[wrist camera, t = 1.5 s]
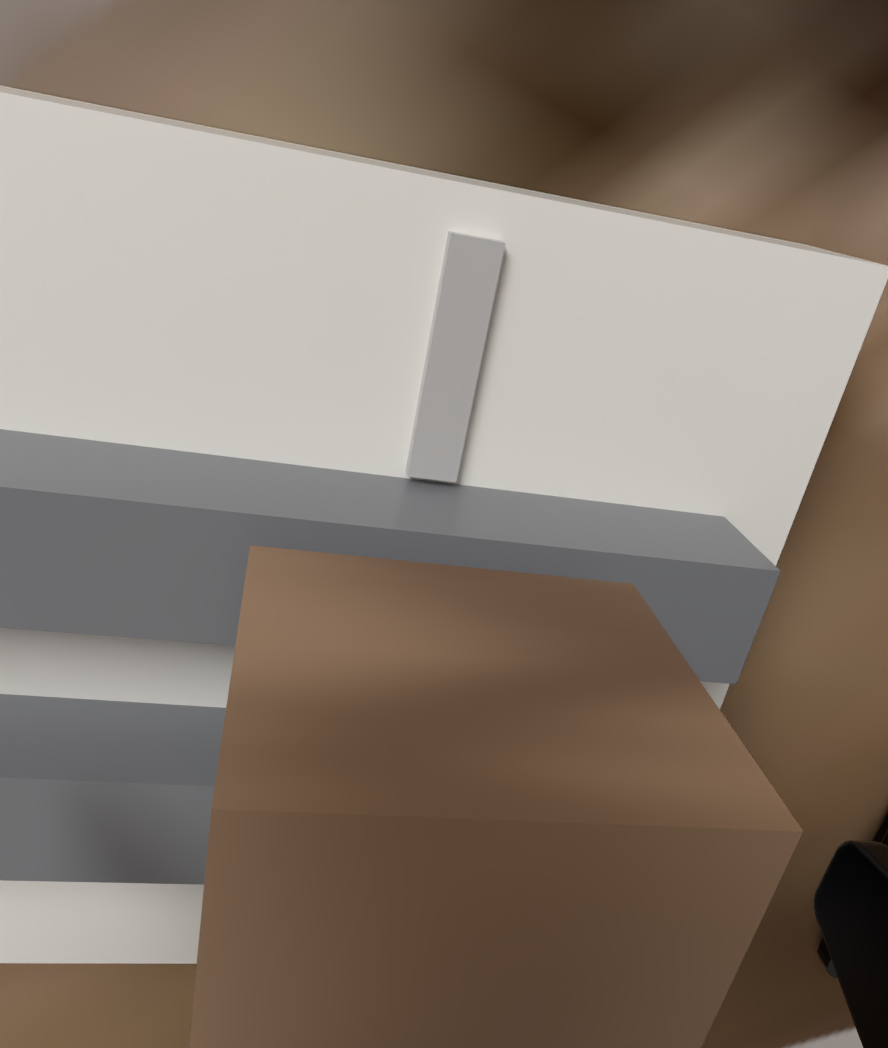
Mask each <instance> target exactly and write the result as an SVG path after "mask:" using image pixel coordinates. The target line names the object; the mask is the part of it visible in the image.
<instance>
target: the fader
mask: <svg viewBox="0 0 888 1048" xmlns="http://www.w3.org/2000/svg"><path fill="white" fill-rule="evenodd" d="M802 834H803V830H802V829H801V827H800V826H799V824H798V823H797V821H796V820H795V819H794V817H793V816H792V814H791V813H790V811H789V810H788V808H787V807H786V805H785V804H784V803H783V801H782V800H781V798H780V797H779V795H778V794H777V792H776V791H775V789H774V788H773V787H772V785H771V784H770V782H769V781H768V779H767V778H766V776H765V775H764V773H763V772H762V771H761V769H760V768H759V766H758V765H757V763H756V762H755V760H754V759H753V757H752V756H751V755H750V753H749V752H748V750H747V749H746V747H745V746H744V744H743V743H742V741H741V740H740V739H739V737H738V736H737V734H736V733H735V731H734V730H733V728H732V727H731V725H730V724H729V723H728V721H727V720H726V718H725V717H724V715H723V714H722V712H721V711H720V709H719V708H718V707H717V705H716V704H715V702H714V701H713V699H712V698H711V696H710V695H709V693H708V692H707V691H706V689H705V688H704V686H703V685H702V683H701V682H700V680H699V679H698V677H697V676H696V675H695V673H694V672H693V670H692V669H691V667H690V666H689V664H688V663H687V661H686V660H685V659H684V657H683V656H682V654H681V653H680V651H679V650H678V648H677V647H676V645H675V644H674V643H673V641H672V640H671V638H670V637H669V635H668V634H667V632H666V631H665V629H664V628H663V627H662V625H661V624H660V622H659V621H658V619H657V618H656V616H655V615H654V613H653V612H652V611H651V609H650V608H649V606H648V605H647V603H646V602H645V600H644V599H643V597H642V596H641V595H640V593H639V592H638V590H637V589H636V587H635V586H634V584H631V583H621V582H611V581H601V580H591V579H581V578H571V577H561V576H552V575H542V574H532V573H522V572H512V571H502V570H492V569H482V568H472V567H462V566H452V565H442V564H432V563H422V562H413V561H403V560H393V559H383V558H373V557H363V556H353V555H343V554H333V553H323V552H313V551H303V550H293V549H283V548H274V547H264V546H254V545H250V548H249V555H248V562H247V569H246V576H245V583H244V589H243V596H242V603H241V610H240V617H239V624H238V630H237V637H236V644H235V651H234V658H233V665H232V671H231V678H230V685H229V692H228V699H227V706H226V712H225V719H224V726H223V733H222V740H221V746H220V753H219V760H218V767H217V774H216V781H215V787H214V794H213V801H212V808H211V818H210V828H209V839H208V849H207V860H206V870H205V881H204V891H203V902H202V912H201V923H200V933H199V944H198V954H197V965H196V975H195V986H194V996H193V1007H192V1017H191V1028H190V1038H189V1048H701V1047H702V1045H703V1043H704V1041H705V1039H706V1037H707V1034H708V1032H709V1030H710V1028H711V1026H712V1024H713V1022H714V1020H715V1018H716V1015H717V1013H718V1011H719V1009H720V1007H721V1005H722V1003H723V1001H724V999H725V996H726V994H727V992H728V990H729V988H730V986H731V984H732V982H733V980H734V977H735V975H736V973H737V971H738V969H739V967H740V965H741V963H742V960H743V958H744V956H745V954H746V952H747V950H748V948H749V946H750V944H751V941H752V939H753V937H754V935H755V933H756V931H757V929H758V927H759V925H760V922H761V920H762V918H763V916H764V914H765V912H766V910H767V908H768V906H769V903H770V901H771V899H772V897H773V895H774V893H775V891H776V889H777V886H778V884H779V882H780V880H781V878H782V876H783V874H784V872H785V870H786V867H787V865H788V863H789V861H790V859H791V857H792V855H793V853H794V851H795V848H796V846H797V844H798V842H799V840H800V838H801V836H802Z"/></svg>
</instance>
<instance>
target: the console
mask: <svg viewBox="0 0 888 1048" xmlns="http://www.w3.org/2000/svg"><path fill="white" fill-rule="evenodd" d="M887 279H888V266H887V265H883V264H879V263H875V262H871V261H867V260H864V259H860V258H856V257H852V256H848V255H844V254H840V253H836V252H832V251H829V250H825V249H821V248H817V247H813V246H809V245H805V244H800V243H795V242H790V241H785V240H780V239H775V238H770V237H765V236H760V235H755V234H750V233H745V232H740V231H735V230H730V229H725V228H719V227H714V226H709V225H704V224H699V223H694V222H689V221H684V220H679V219H674V218H669V217H664V216H659V215H654V214H649V213H644V212H638V211H633V210H628V209H623V208H618V207H613V206H608V205H603V204H598V203H593V202H588V201H583V200H578V199H573V198H568V197H563V196H557V195H552V194H547V193H542V192H537V191H532V190H527V189H522V188H517V187H512V186H507V185H502V184H497V183H492V182H487V181H482V180H476V179H471V178H466V177H461V176H456V175H451V174H446V173H441V172H436V171H431V170H426V169H421V168H416V167H411V166H406V165H401V164H395V163H390V162H385V161H380V160H375V159H370V158H365V157H360V156H355V155H350V154H345V153H340V152H335V151H330V150H325V149H320V148H314V147H309V146H304V145H299V144H294V143H289V142H284V141H279V140H274V139H269V138H264V137H259V136H254V135H249V134H244V133H239V132H233V131H228V130H223V129H218V128H213V127H208V126H203V125H198V124H193V123H188V122H183V121H178V120H173V119H168V118H163V117H158V116H152V115H147V114H142V113H137V112H132V111H127V110H122V109H117V108H112V107H107V106H102V105H97V104H92V103H87V102H82V101H77V100H71V99H66V98H61V97H56V96H51V95H46V94H41V93H36V92H31V91H26V90H21V89H16V88H11V87H6V86H1V85H0V963H168V964H197V954H198V944H199V933H200V923H201V912H202V902H203V891H204V881H205V870H206V860H207V849H208V839H209V828H210V818H211V808H212V801H213V794H214V787H215V781H216V774H217V767H218V760H219V753H220V746H221V740H222V733H223V726H224V719H225V712H226V706H227V699H228V692H229V685H230V678H231V671H232V665H233V658H234V651H235V644H236V637H237V630H238V624H239V617H240V610H241V603H242V596H243V589H244V583H245V576H246V569H247V562H248V555H249V548H250V545H254V546H264V547H274V548H283V549H293V550H303V551H313V552H323V553H333V554H343V555H353V556H363V557H373V558H383V559H393V560H403V561H413V562H422V563H432V564H442V565H452V566H462V567H472V568H482V569H492V570H502V571H512V572H522V573H532V574H542V575H552V576H561V577H571V578H581V579H591V580H601V581H611V582H621V583H631V584H634V586H635V587H636V589H637V590H638V592H639V593H640V595H641V596H642V597H643V599H644V600H645V602H646V603H647V605H648V606H649V608H650V609H651V611H652V612H653V613H654V615H655V616H656V618H657V619H658V621H659V622H660V624H661V625H662V627H663V628H664V629H665V631H666V632H667V634H668V635H669V637H670V638H671V640H672V641H673V643H674V644H675V645H676V647H677V648H678V650H679V651H680V653H681V654H682V656H683V657H684V659H685V660H686V661H687V663H688V664H689V666H690V667H691V669H692V670H693V672H694V673H695V675H696V676H697V677H698V679H699V680H700V682H701V683H702V685H703V686H704V688H705V689H706V691H707V692H708V693H709V695H710V696H711V698H712V699H713V701H714V702H715V704H716V705H717V707H718V708H719V709H720V708H721V705H722V703H723V700H724V698H725V695H726V692H727V690H728V687H729V685H730V684H736V683H737V681H738V678H739V676H740V673H741V671H742V668H743V665H744V663H745V660H746V658H747V655H748V653H749V650H750V648H751V645H752V643H753V640H754V638H755V635H756V632H757V630H758V627H759V625H760V622H761V620H762V617H763V615H764V612H765V610H766V607H767V604H768V602H769V599H770V597H771V594H772V592H773V589H774V587H775V584H776V582H777V579H778V577H779V574H780V570H779V569H778V568H777V567H776V564H777V562H778V559H779V556H780V554H781V551H782V549H783V546H784V544H785V541H786V538H787V536H788V533H789V531H790V528H791V526H792V523H793V521H794V518H795V515H796V513H797V510H798V508H799V505H800V503H801V500H802V497H803V495H804V492H805V490H806V487H807V485H808V482H809V479H810V477H811V474H812V472H813V469H814V467H815V464H816V461H817V459H818V456H819V454H820V451H821V449H822V446H823V444H824V441H825V438H826V436H827V433H828V431H829V428H830V426H831V423H832V420H833V418H834V415H835V413H836V410H837V408H838V405H839V402H840V400H841V397H842V395H843V392H844V390H845V387H846V385H847V382H848V379H849V377H850V374H851V372H852V369H853V367H854V364H855V361H856V359H857V356H858V354H859V351H860V349H861V346H862V343H863V341H864V338H865V336H866V333H867V331H868V328H869V325H870V323H871V320H872V318H873V315H874V313H875V310H876V308H877V305H878V302H879V300H880V297H881V295H882V292H883V290H884V287H885V284H886V282H887Z"/></svg>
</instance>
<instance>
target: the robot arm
mask: <svg viewBox="0 0 888 1048" xmlns="http://www.w3.org/2000/svg"><path fill="white" fill-rule="evenodd" d="M814 909H815V915H816V918H817V921H818V924H819V927H820V930H821V932H822V935H823V939H822V941H821V943H820V945H819V948H818V952H817V953H818V956H819V958H820V960H821V961H822V963H823V965H824V966H825V968H826V970H827V971H828V973H829V974H830V975H831V976H833V977H835V978H838V979H839V982H840V985H841V988H842V990H843V993H844V996H845V999H846V1001H847V1004H848V1007H849V1010H850V1013H851V1015H852V1018H853V1021H854V1024H855V1026H856V1029H857V1032H858V1035H859V1037H860V1040H861V1042H862V1045H863V1048H888V814H887V816H886V818H885V820H884V822H883V824H882V826H881V828H880V830H879V832H878V834H877V836H876V838H875V839H874V841H846V842H844V843H842V844H841V845H840V846H839V847H838V849H837V850H836V852H835V854H834V856H833V858H832V860H831V862H830V864H829V866H828V868H827V870H826V872H825V874H824V876H823V878H822V880H821V882H820V884H819V886H818V888H817V890H816V893H815V898H814Z"/></svg>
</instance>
